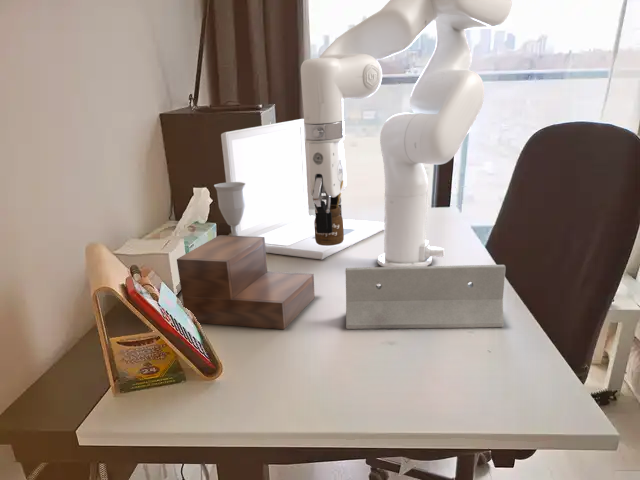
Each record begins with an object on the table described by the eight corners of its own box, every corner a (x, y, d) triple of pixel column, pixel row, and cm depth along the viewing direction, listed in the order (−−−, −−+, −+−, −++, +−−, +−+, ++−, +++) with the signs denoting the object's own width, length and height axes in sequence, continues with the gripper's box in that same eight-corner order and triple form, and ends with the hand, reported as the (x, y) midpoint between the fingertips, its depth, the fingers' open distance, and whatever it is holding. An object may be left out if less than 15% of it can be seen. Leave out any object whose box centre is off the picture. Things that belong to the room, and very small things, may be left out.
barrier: (346, 329, 117) (344, 274, 112) (347, 315, 123) (346, 262, 118) (503, 327, 114) (508, 271, 109) (496, 313, 121) (501, 259, 116)
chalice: (257, 259, 160) (250, 182, 151) (245, 266, 155) (237, 187, 146) (230, 257, 162) (222, 181, 153) (218, 265, 157) (208, 187, 148)
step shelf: (314, 297, 133) (311, 238, 127) (284, 329, 118) (279, 264, 112) (225, 292, 138) (219, 235, 132) (185, 321, 124) (176, 259, 118)
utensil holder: (318, 238, 137) (314, 178, 131) (347, 238, 136) (345, 177, 130) (312, 246, 132) (308, 184, 126) (343, 246, 131) (340, 183, 125)
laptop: (323, 260, 157) (318, 134, 143) (232, 248, 170) (219, 132, 156) (387, 229, 181) (388, 118, 168) (304, 221, 195) (298, 118, 181)
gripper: (330, 138, 115) (335, 240, 124) (355, 126, 129) (358, 218, 138) (290, 139, 117) (298, 239, 127) (319, 127, 131) (324, 218, 141)
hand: (329, 227), depth 132 cm, fingers closed on utensil holder, 6 cm apart
